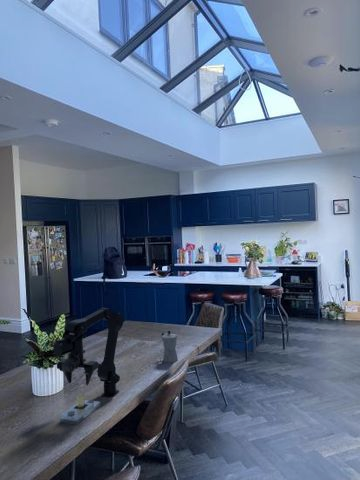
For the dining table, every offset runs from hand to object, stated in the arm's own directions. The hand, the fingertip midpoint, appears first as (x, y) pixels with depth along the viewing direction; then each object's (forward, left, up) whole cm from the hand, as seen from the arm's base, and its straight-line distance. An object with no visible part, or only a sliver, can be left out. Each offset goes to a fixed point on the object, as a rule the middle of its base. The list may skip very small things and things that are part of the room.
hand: (78, 383), depth 168 cm
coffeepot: (-71, +14, -12) cm, 73 cm away
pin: (+3, +2, -12) cm, 12 cm away
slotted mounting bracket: (+2, +2, -12) cm, 12 cm away
